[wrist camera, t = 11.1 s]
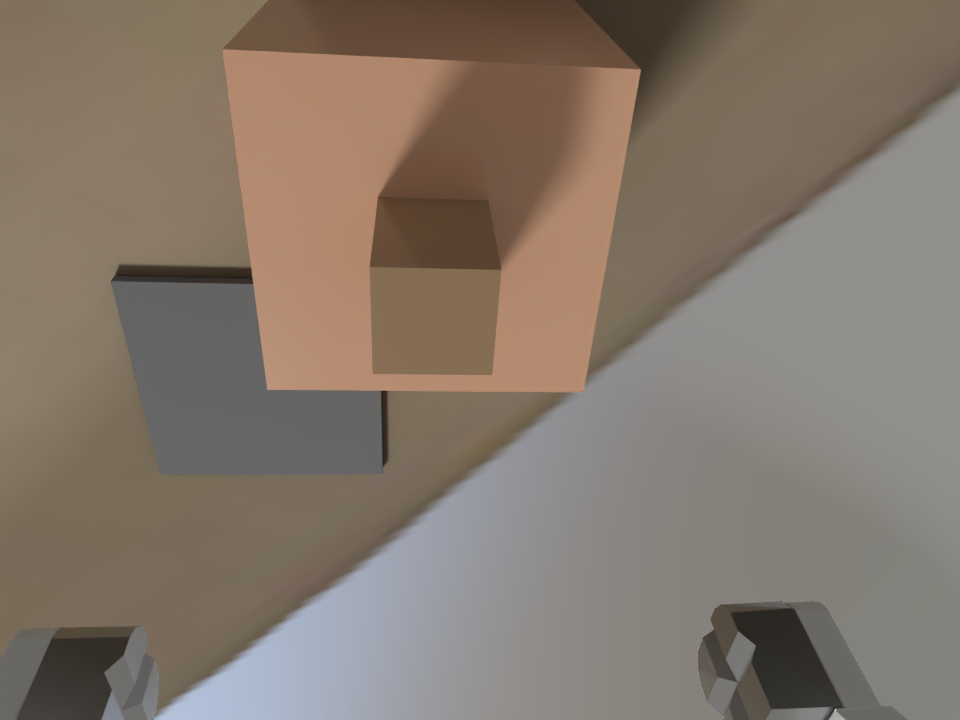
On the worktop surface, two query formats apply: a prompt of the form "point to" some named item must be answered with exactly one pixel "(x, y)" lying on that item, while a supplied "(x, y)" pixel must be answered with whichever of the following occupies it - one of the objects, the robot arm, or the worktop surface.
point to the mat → (233, 388)
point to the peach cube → (428, 189)
